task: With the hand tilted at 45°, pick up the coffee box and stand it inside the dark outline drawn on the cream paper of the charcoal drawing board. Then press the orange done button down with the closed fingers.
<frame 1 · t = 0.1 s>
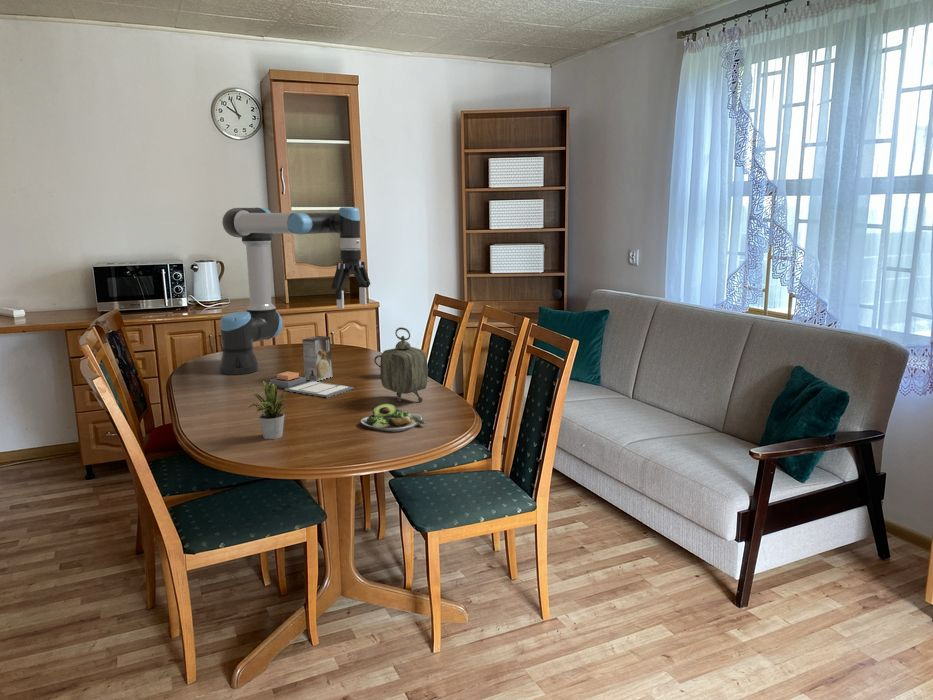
hand: (352, 306, 259), 28 cm above the table, tool pointing down, fingers open, 13 cm apart
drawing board: (319, 390, 246), on the table
house plant: (269, 436, 196), on the table
button housing: (288, 385, 254), on the table
coffee mug: (391, 376, 267), on the table
done button: (287, 375, 253), point 4 cm above the table, slide at 0.0 cm
tabletop clock: (403, 401, 231), on the table
coffee box: (318, 379, 263), on the table
salad plate: (391, 424, 207), on the table
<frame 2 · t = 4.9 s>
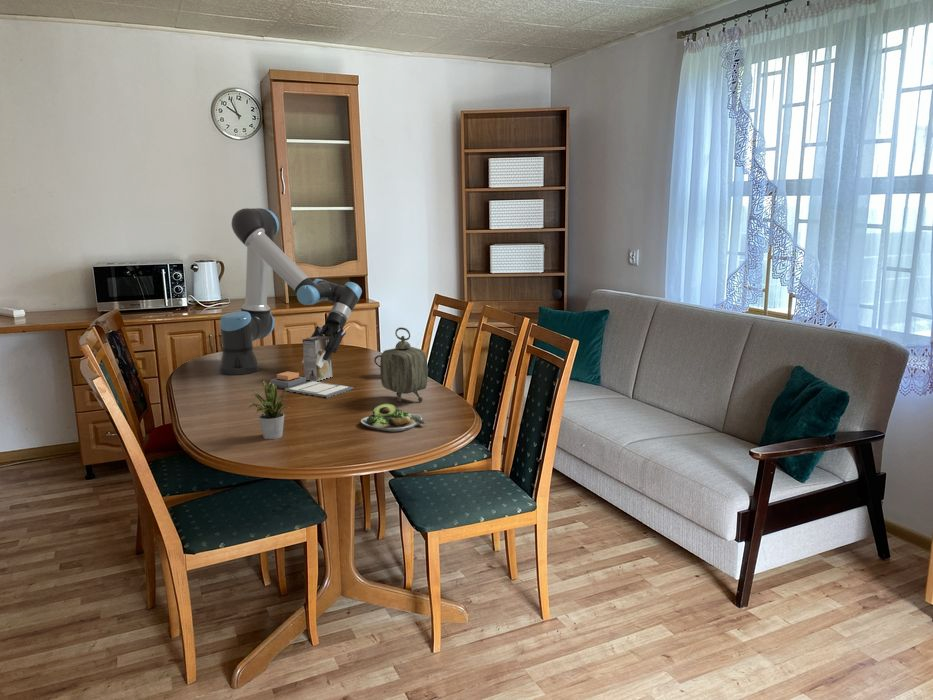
hand: (311, 365, 259), 6 cm above the table, tool tilted 45°, fingers closed on coffee box, 6 cm apart
coffee box: (318, 379, 263), on the table, touching gripper
everything else where it was.
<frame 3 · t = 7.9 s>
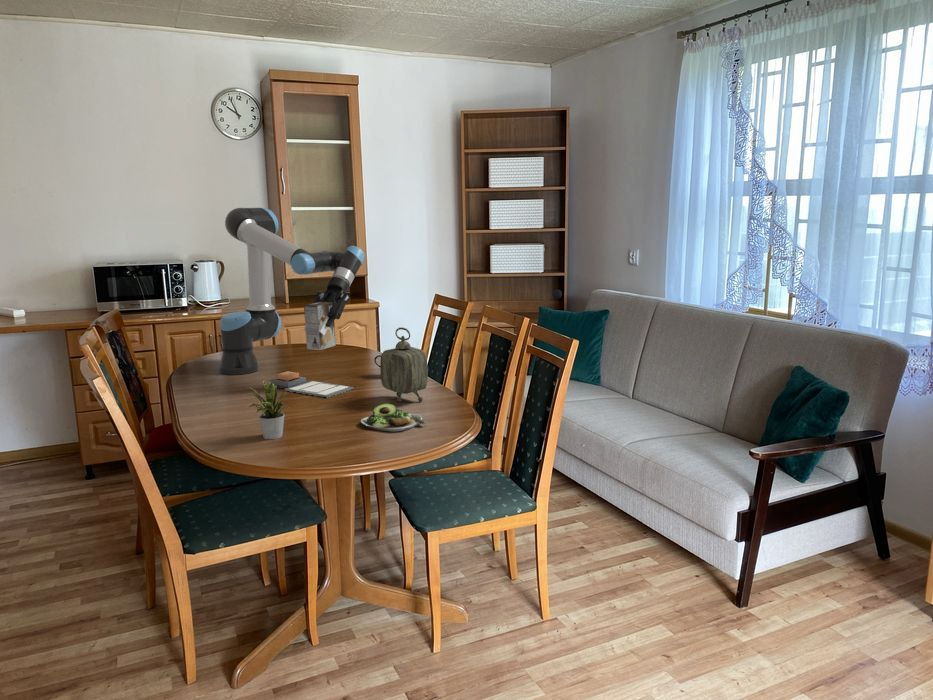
hand: (313, 332, 244), 21 cm above the table, tool tilted 45°, fingers closed on coffee box, 6 cm apart
coffee box: (321, 348, 248), point 14 cm above the table, touching gripper
everything else where it was.
when the fingers open (9 cm above the table, at t = 10.8 s): coffee box drops 2 cm, resting on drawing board.
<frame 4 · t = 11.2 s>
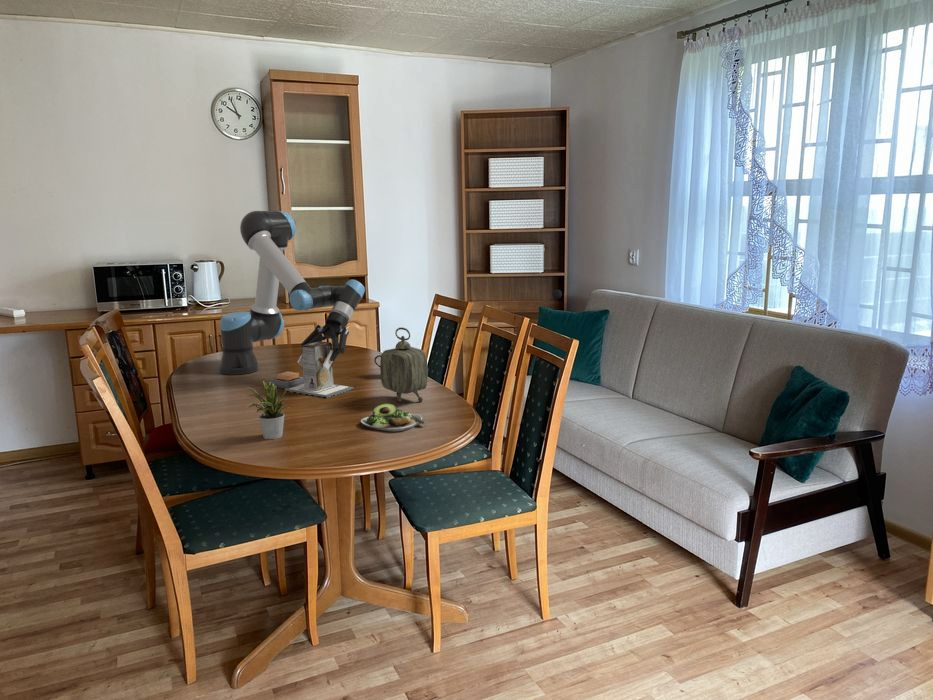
hand: (312, 366, 242), 9 cm above the table, tool tilted 45°, fingers open, 11 cm apart
coffee box: (318, 388, 246), point 1 cm above the table, touching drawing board
everything else where it was.
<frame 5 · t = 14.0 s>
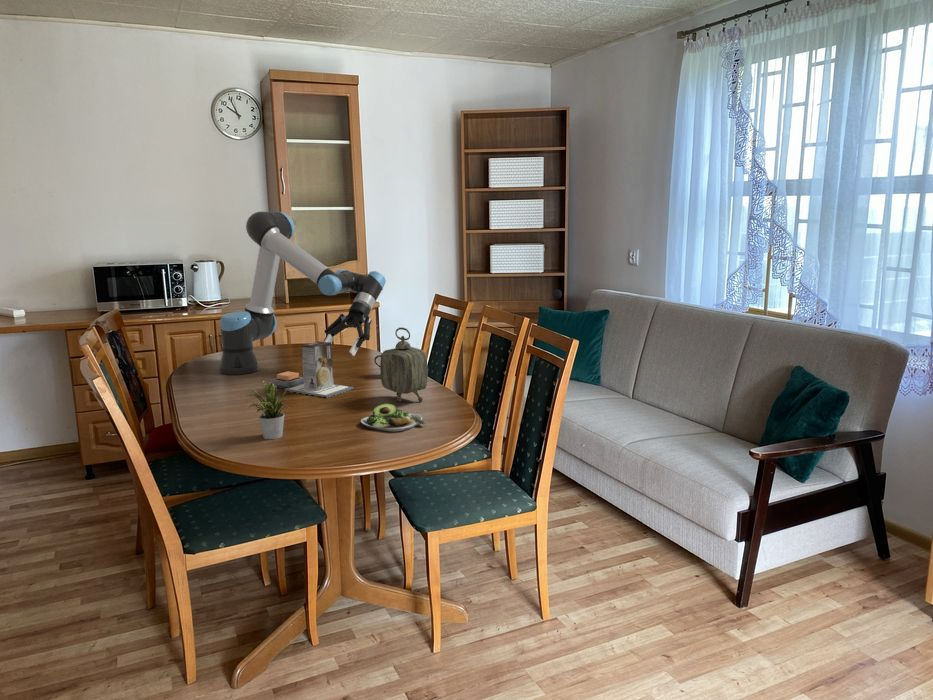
hand: (337, 352, 253), 12 cm above the table, tool tilted 45°, fingers open, 13 cm apart
nothing on the table moved.
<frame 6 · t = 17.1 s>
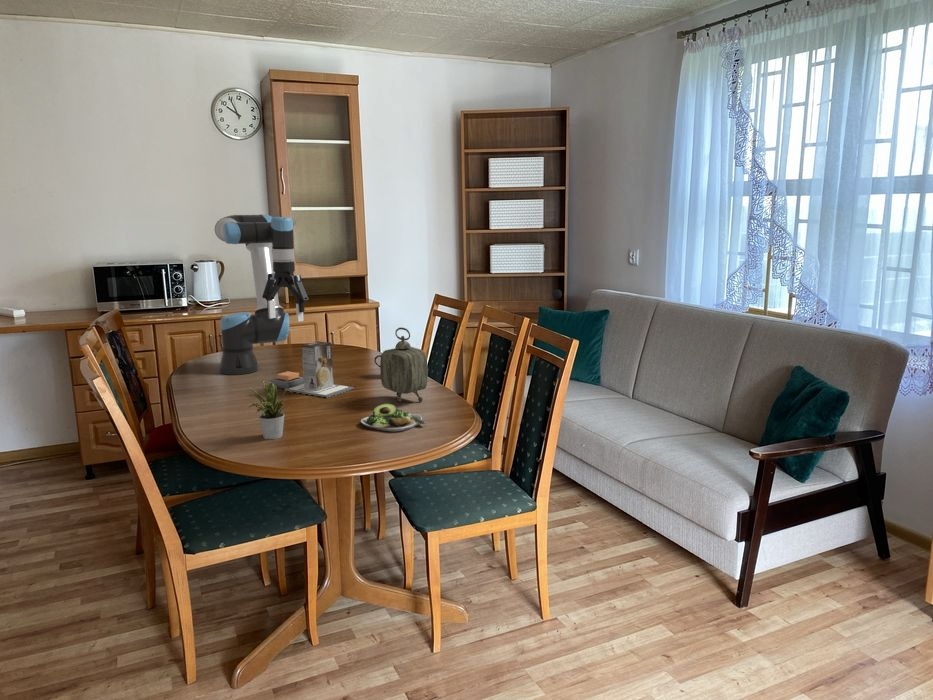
hand: (286, 319, 249), 24 cm above the table, tool pointing down, fingers open, 13 cm apart
nothing on the table moved.
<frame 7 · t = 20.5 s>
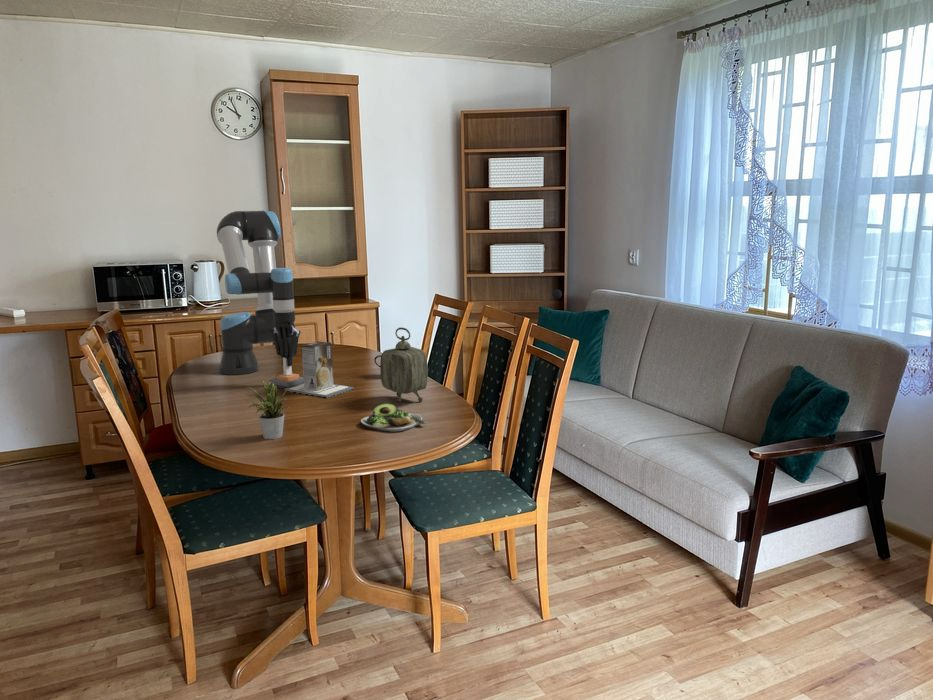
hand: (287, 374, 253), 4 cm above the table, tool pointing down, fingers closed
done button: (287, 377, 253), point 3 cm above the table, slide at 0.5 cm, touching gripper
everything else where it was.
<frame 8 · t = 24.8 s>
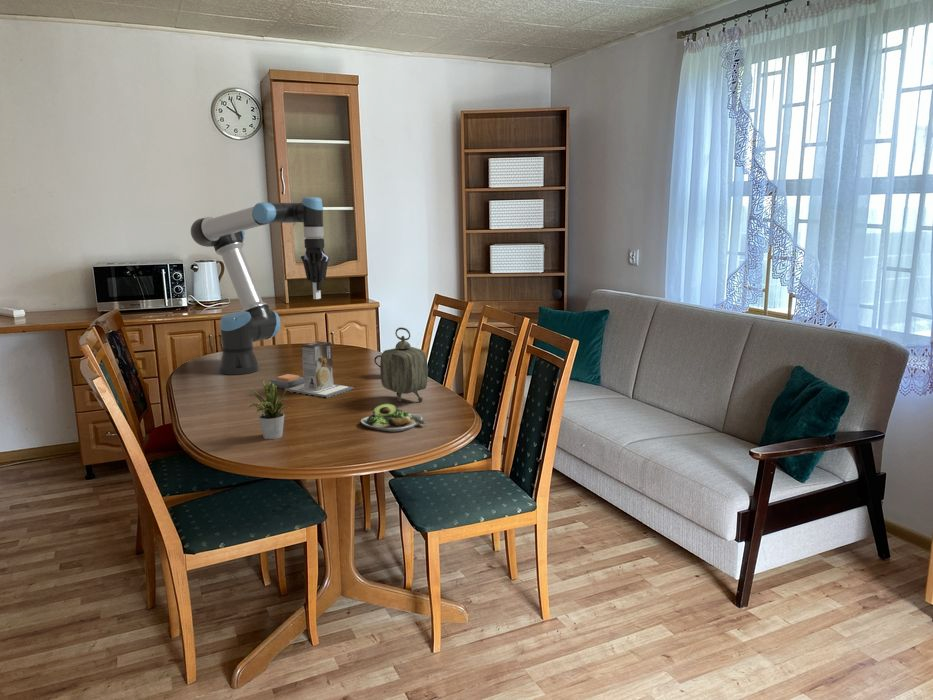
hand: (317, 298, 270), 29 cm above the table, tool pointing down, fingers closed
done button: (288, 378, 253), point 3 cm above the table, slide at 1.0 cm
everything else where it was.
at the end: coffee box inside the target area on the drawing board (0.3 cm from its centre), point 0.7 cm above the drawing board's base; coffee box tilted 0°; done button slide at 1.0 cm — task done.
